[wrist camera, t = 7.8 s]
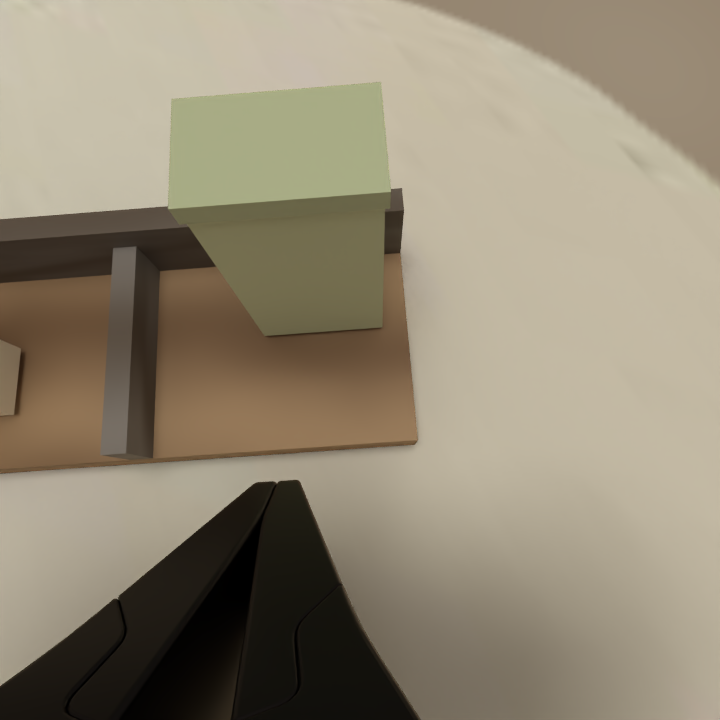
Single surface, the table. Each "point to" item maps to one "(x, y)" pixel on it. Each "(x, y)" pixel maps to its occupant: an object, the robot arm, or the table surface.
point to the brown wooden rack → (180, 352)
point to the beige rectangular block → (8, 377)
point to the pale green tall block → (288, 200)
